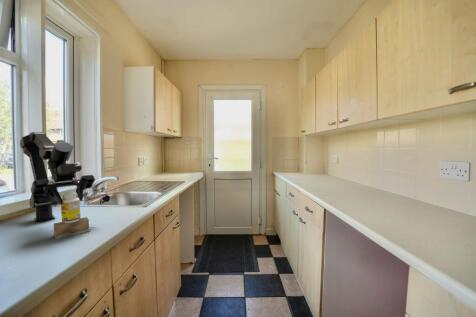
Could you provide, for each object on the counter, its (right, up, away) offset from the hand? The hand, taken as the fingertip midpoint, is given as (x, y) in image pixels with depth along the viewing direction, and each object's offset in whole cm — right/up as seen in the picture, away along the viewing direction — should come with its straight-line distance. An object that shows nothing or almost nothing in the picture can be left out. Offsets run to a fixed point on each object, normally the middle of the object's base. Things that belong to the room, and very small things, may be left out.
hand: (72, 202), depth 82 cm
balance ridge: (-1, -12, +1) cm, 12 cm away
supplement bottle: (-1, -7, +1) cm, 8 cm away
